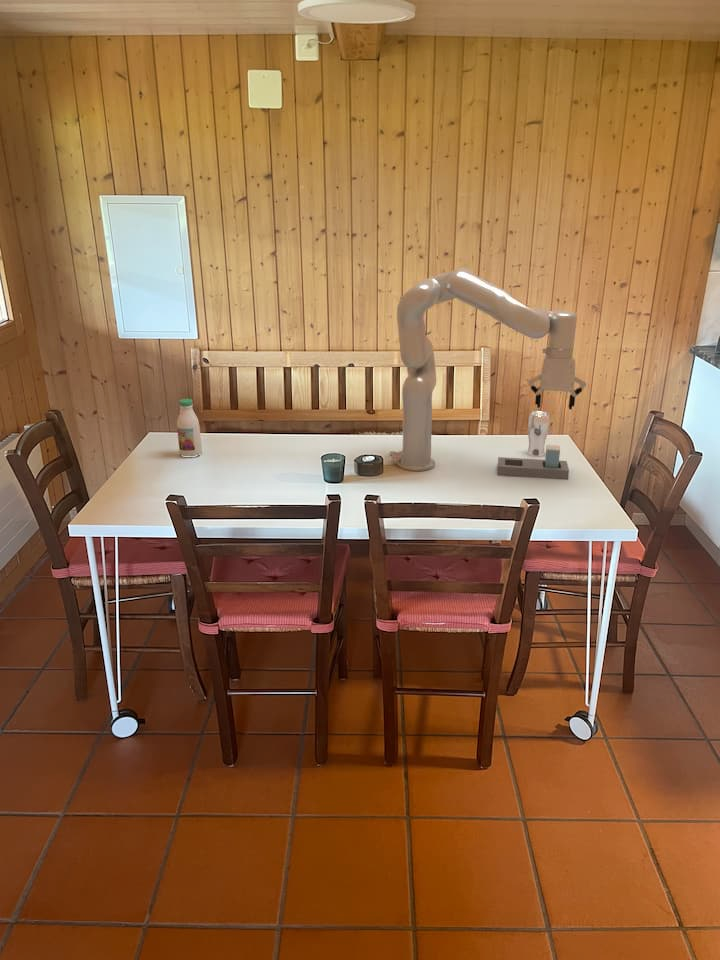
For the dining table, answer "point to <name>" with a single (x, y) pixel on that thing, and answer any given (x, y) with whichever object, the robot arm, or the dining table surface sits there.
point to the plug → (552, 456)
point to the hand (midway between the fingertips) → (554, 407)
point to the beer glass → (537, 432)
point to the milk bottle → (188, 430)
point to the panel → (531, 468)
